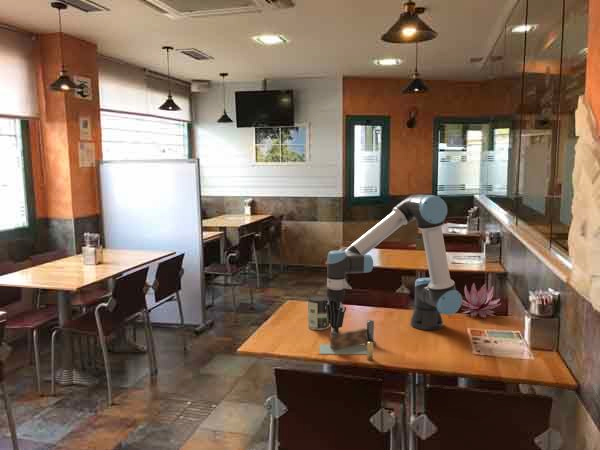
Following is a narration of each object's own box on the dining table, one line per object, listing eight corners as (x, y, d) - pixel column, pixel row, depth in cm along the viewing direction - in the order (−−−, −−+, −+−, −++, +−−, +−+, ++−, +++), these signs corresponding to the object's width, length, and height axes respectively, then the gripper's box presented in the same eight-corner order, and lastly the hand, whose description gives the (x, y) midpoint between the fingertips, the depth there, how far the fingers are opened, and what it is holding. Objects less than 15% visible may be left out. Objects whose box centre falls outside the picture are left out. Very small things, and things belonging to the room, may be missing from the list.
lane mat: (365, 345, 203) (365, 344, 203) (368, 354, 193) (368, 353, 193) (319, 345, 204) (319, 344, 204) (319, 354, 194) (319, 353, 194)
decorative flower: (481, 324, 229) (482, 294, 227) (447, 312, 247) (447, 284, 245) (509, 317, 239) (511, 288, 237) (475, 306, 258) (476, 279, 256)
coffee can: (330, 323, 231) (330, 295, 230) (327, 330, 221) (327, 301, 220) (309, 322, 234) (309, 294, 232) (306, 329, 224) (305, 300, 222)
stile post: (372, 358, 189) (372, 341, 189) (373, 360, 187) (373, 343, 186) (366, 358, 189) (366, 341, 189) (367, 360, 187) (367, 343, 186)
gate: (364, 341, 205) (364, 325, 204) (367, 343, 203) (367, 327, 202) (330, 347, 198) (330, 331, 197) (332, 349, 196) (332, 333, 195)
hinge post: (375, 341, 207) (375, 319, 206) (376, 345, 203) (376, 323, 201) (363, 341, 208) (363, 319, 206) (364, 345, 203) (365, 323, 201)
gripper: (320, 285, 202) (319, 338, 205) (336, 292, 191) (335, 348, 194) (335, 283, 205) (333, 335, 208) (352, 290, 194) (350, 345, 197)
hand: (334, 341), depth 201 cm, fingers closed
